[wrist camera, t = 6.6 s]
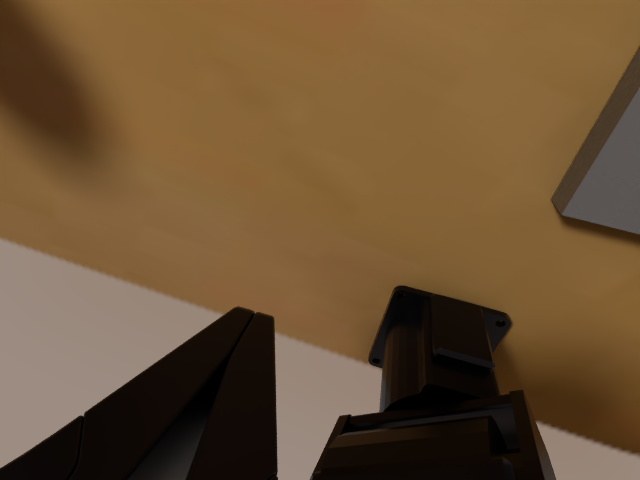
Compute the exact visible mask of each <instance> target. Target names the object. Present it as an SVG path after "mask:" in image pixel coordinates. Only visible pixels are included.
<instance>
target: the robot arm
mask: <svg viewBox="0 0 640 480" xmlns="http://www.w3.org/2000/svg"><path fill="white" fill-rule="evenodd" d="M398 294H405V296H400V295H398ZM499 320H503V321H502V322H497V321H499ZM510 324H511V323H510V320H509V316H508V315H507V314H506V313H504V312H500V311H496V310H493V309H489V308H485V307H481V306H479V305H475V304H471V303H468V302H464V301H460V300H456V299H453V298H449V297H445V296H442V295H438V294H433V293H429V292H425V291H422V290H418V289H414V288H410V287H407V286H397V287H395V288H394V290H393V292H392V295H391V297H390V300H389V303H388V305H387V308H386V311H385V313H384V316H383V319H382V321H381V324H380V326H379V329H378V332H377V334H376V337H375V340H374V342H373V345H372V348H371V350H370V353H369V359H368V361H369V363H370V364H371V365H373V366H376V367H380V368H383V370H382V383H381V398H380V410H379V412H378V413H371V414H364V415H357V416H351V415H343V416H339V418H338V420H337V422H336V425H335V427H334V429H333V431H332V433H331V435H330V437H329V440H328V442H327V444H326V446H325V448H324V450H323V452H322V454H321V457H320V459H319V461H318V463H317V465H316V467H315V469H314V471H313V474H312V476H311V478H310V480H556V478H555V474H554V471H553V468H552V465H551V462H550V459H549V455H548V453H547V450H546V447H545V445H544V442H543V440H542V437H541V435H540V432H539V430H538V427H537V424H536V422H535V419H534V417H533V414H532V412H531V409H530V407H529V404H528V402H527V399H526V397H525V394H524V391H523V390H517V391H510V394H506V395H500V391H499V387H498V382H497V378H496V374H495V369H494V367H495V362H494V358H493V354H492V353H493V351H494V350H495V348H496V347H497V345H498V343H499V342H500V340H501V339H502V337H503V336H504V334H505V333H506V331H507V330H508V328H509V327H510ZM375 358H378V359H375ZM0 480H278V477H277V424H276V375H275V327H274V317H273V316H271V315H267V314H264V313H260V312H256V313H255V312H254V311H253V310H250V309H246V308H243V307H235V308H233V309H232V310H230V311H229V312H227V313H226V314H225V315H223V316H222V317H220V318H219V319H218V320H216V321H215V322H213V323H212V324H210V325H209V326H207V327H206V328H205V329H203V330H202V331H200V332H199V333H197V334H196V335H195V336H193V337H192V338H190V339H189V340H188V341H186V342H185V343H183V344H182V345H180V346H179V347H177V348H176V349H175V350H173V351H172V352H170V353H169V354H167V355H166V356H165V357H163V358H162V359H160V360H159V361H158V362H156V363H155V364H153V365H152V366H150V367H149V368H148V369H146V370H145V371H143V372H142V373H140V374H139V375H137V376H136V377H135V378H133V379H132V380H130V381H129V382H128V383H126V384H125V385H123V386H122V387H120V388H119V389H117V390H116V391H115V392H113V393H112V394H110V395H109V396H108V397H106V398H105V399H103V400H102V401H100V402H99V403H97V404H96V405H95V406H93V407H92V408H91V409H89V410H88V411H86V412H85V413H84V417H83V416H78V417H77V418H76V419H74V420H73V421H71V422H70V423H69V424H67V425H66V426H64V427H63V428H61V429H60V430H59V431H57V432H56V433H54V434H53V435H51V436H50V437H48V438H47V439H45V440H44V441H42V442H41V443H39V444H38V445H36V446H35V447H33V448H32V449H30V450H29V451H27V452H26V453H24V454H23V455H21V456H20V457H18V458H16V459H15V460H13V461H11V462H10V463H8V464H7V465H5V466H3V467H2V468H0Z"/></svg>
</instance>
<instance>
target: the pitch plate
mask: <svg viewBox="0 0 640 480" xmlns="http://www.w3.org/2000/svg"><path fill="white" fill-rule="evenodd" d="M551 201H552V202H553V204H554V205H555V206H556V208H557V209H558V211H559V212H560V214H561V215H564V216H568V217H572V218H576V219H580V220H584V221H588V222H592V223H596V224H600V225H604V226H608V227H612V228H616V229H620V230H624V231H628V232H632V233H636V234H640V47H639V48H638V50H637V52H636V54H635V55H634V57H633V59H632V60H631V62H630V64H629V66H628V67H627V69H626V71H625V73H624V74H623V76H622V78H621V79H620V81H619V83H618V85H617V86H616V88H615V90H614V91H613V93H612V95H611V97H610V98H609V100H608V102H607V104H606V105H605V107H604V109H603V110H602V112H601V114H600V116H599V117H598V119H597V121H596V122H595V124H594V126H593V128H592V129H591V131H590V133H589V135H588V136H587V138H586V140H585V141H584V143H583V145H582V147H581V148H580V150H579V152H578V153H577V155H576V157H575V159H574V160H573V162H572V164H571V166H570V167H569V169H568V171H567V172H566V174H565V176H564V178H563V179H562V181H561V183H560V184H559V186H558V188H557V190H556V191H555V193H554V195H553V197H552V198H551Z"/></svg>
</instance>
